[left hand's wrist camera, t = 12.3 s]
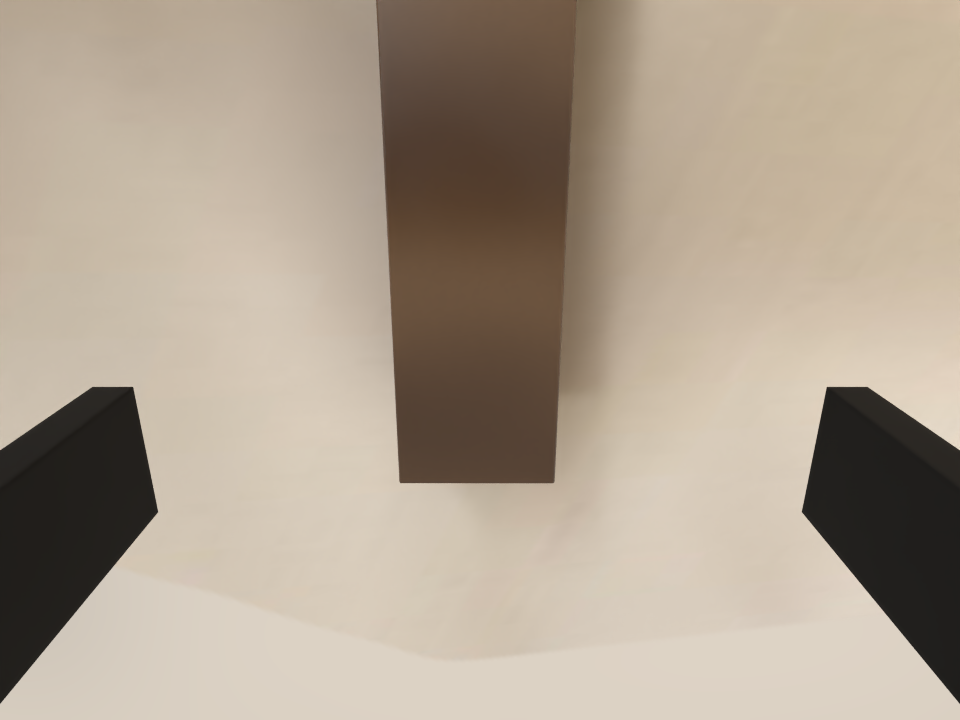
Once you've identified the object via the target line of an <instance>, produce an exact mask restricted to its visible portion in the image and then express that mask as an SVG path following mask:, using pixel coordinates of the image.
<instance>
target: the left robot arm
mask: <svg viewBox="0 0 960 720" xmlns="http://www.w3.org/2000/svg"><path fill="white" fill-rule="evenodd" d="M157 513H158V509H157V504H156V499H155V494H154V489H153V484H152V479H151V474H150V469H149V464H148V459H147V454H146V449H145V444H144V439H143V434H142V429H141V424H140V419H139V414H138V409H137V404H136V399H135V394H134V389H133V387H92V388H90V389H89V390H88V391H86V392H85V393H83V394H82V395H80V396H79V397H77V398H76V399H74V400H73V401H72V402H70V403H69V404H67V405H66V406H64V407H63V408H61V409H60V410H58V411H57V412H55V413H54V414H53V415H51V416H50V417H48V418H47V419H45V420H44V421H42V422H41V423H39V424H38V425H37V426H35V427H34V428H32V429H31V430H29V431H28V432H26V433H25V434H23V435H22V436H21V437H19V438H18V439H16V440H15V441H13V442H12V443H10V444H9V445H7V446H6V447H4V448H3V449H2V450H0V703H1V702H2V701H3V700H4V698H5V697H6V696H7V695H8V694H9V692H10V691H11V690H12V689H13V688H14V686H15V685H16V684H17V683H18V681H19V680H20V679H21V678H22V677H23V675H24V674H25V673H26V672H27V671H28V669H29V668H30V667H31V666H32V664H33V663H34V662H35V661H36V660H37V658H38V657H39V656H40V655H41V653H42V652H43V651H44V650H45V649H46V647H47V646H48V645H49V644H50V643H51V641H52V640H53V639H54V638H55V637H56V635H57V634H58V633H59V632H60V630H61V629H62V628H63V627H64V626H65V624H66V623H67V622H68V621H69V620H70V618H71V617H72V616H73V615H74V613H75V612H76V611H77V610H78V609H79V607H80V606H81V605H82V604H83V603H84V601H85V600H86V599H87V598H88V596H89V595H90V594H91V593H92V592H93V590H94V589H95V588H96V587H97V586H98V584H99V583H100V582H101V581H102V579H103V578H104V577H105V576H106V575H107V573H108V572H109V571H110V570H111V569H112V567H113V566H114V565H115V564H116V562H117V561H118V560H119V559H120V558H121V556H122V555H123V554H124V553H125V552H126V550H127V549H128V548H129V547H130V546H131V544H132V543H133V542H134V541H135V539H136V538H137V537H138V536H139V535H140V533H141V532H142V531H143V530H144V529H145V527H146V526H147V525H148V524H149V522H150V521H151V520H152V519H153V518H154V516H155V515H156V514H157ZM802 513H803V514H804V515H805V516H806V518H807V519H808V520H809V521H810V522H811V524H812V525H813V526H814V527H815V529H816V530H817V531H818V532H819V533H820V535H821V536H822V537H823V538H824V539H825V541H826V542H827V543H828V544H829V546H830V547H831V548H832V549H833V550H834V552H835V553H836V554H837V555H838V556H839V558H840V559H841V560H842V561H843V562H844V564H845V565H846V566H847V567H848V569H849V570H850V571H851V572H852V573H853V575H854V576H855V577H856V578H857V579H858V581H859V582H860V583H861V584H862V586H863V587H864V588H865V589H866V590H867V592H868V593H869V594H870V595H871V596H872V598H873V599H874V600H875V601H876V603H877V604H878V605H879V606H880V607H881V609H882V610H883V611H884V612H885V613H886V615H887V616H888V617H889V618H890V619H891V621H892V622H893V623H894V624H895V626H896V627H897V628H898V629H899V630H900V632H901V633H902V634H903V635H904V637H905V638H906V639H907V640H908V641H909V643H910V644H911V645H912V646H913V647H914V649H915V650H916V651H917V652H918V654H919V655H920V656H921V657H922V658H923V660H924V661H925V662H926V663H927V664H928V666H929V667H930V668H931V669H932V670H933V672H934V673H935V674H936V675H937V677H938V678H939V679H940V680H941V681H942V683H943V684H944V685H945V686H946V688H947V689H948V690H949V691H950V692H951V694H952V695H953V696H954V697H955V698H956V700H957V701H958V702H959V703H960V450H958V449H957V448H956V447H954V446H953V445H951V444H950V443H948V442H947V441H945V440H944V439H942V438H941V437H939V436H938V435H937V434H935V433H934V432H932V431H931V430H929V429H928V428H926V427H925V426H923V425H922V424H921V423H919V422H918V421H916V420H915V419H913V418H912V417H910V416H909V415H907V414H906V413H905V412H903V411H902V410H900V409H899V408H897V407H896V406H894V405H893V404H891V403H890V402H888V401H887V400H886V399H884V398H883V397H881V396H880V395H878V394H877V393H875V392H874V391H872V390H871V389H870V388H868V387H827V389H826V394H825V399H824V404H823V409H822V414H821V419H820V424H819V429H818V434H817V439H816V444H815V449H814V454H813V459H812V464H811V469H810V474H809V479H808V484H807V489H806V494H805V499H804V504H803V509H802Z"/></svg>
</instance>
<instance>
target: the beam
mask: <svg viewBox="0 0 960 720" xmlns="http://www.w3.org/2000/svg"><path fill="white" fill-rule="evenodd" d="M376 5H377V26H378V46H379V67H380V88H381V109H382V129H383V150H384V171H385V192H386V212H387V233H388V254H389V274H390V295H391V316H392V337H393V357H394V378H395V399H396V420H397V440H398V461H399V481H400V483H554V481H555V460H556V439H557V417H558V396H559V374H560V353H561V331H562V310H563V288H564V267H565V245H566V224H567V203H568V181H569V160H570V138H571V117H572V95H573V74H574V52H575V31H576V9H577V0H376Z"/></svg>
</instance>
